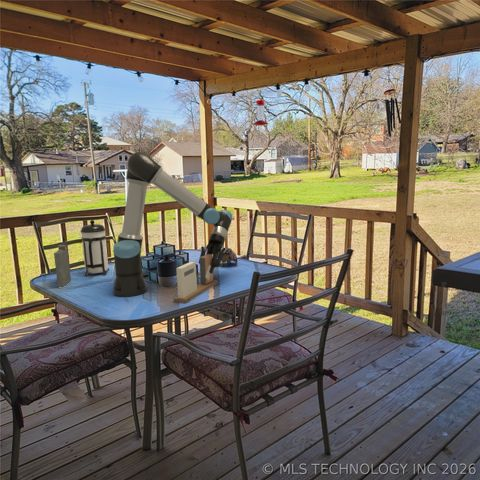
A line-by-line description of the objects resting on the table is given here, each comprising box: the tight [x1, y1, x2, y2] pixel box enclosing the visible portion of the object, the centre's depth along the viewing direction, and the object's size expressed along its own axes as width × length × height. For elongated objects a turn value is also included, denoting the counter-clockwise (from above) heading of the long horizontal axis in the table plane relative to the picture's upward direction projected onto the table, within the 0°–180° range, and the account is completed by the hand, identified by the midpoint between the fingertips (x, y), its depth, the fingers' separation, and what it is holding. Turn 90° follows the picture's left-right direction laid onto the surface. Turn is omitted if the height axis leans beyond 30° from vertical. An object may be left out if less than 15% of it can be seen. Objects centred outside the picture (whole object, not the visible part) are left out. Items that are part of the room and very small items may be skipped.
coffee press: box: [80, 219, 110, 277], centre depth 214 cm, size 17×16×30 cm
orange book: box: [199, 253, 214, 285], centre depth 186 cm, size 8×3×13 cm, turn 157°
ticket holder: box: [173, 261, 219, 304], centre depth 177 cm, size 30×6×15 cm, turn 157°
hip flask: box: [53, 244, 72, 288], centre depth 198 cm, size 16×4×20 cm, turn 11°
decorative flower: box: [217, 247, 238, 268], centre depth 226 cm, size 14×12×15 cm
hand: (203, 278), depth 184 cm, fingers closed on orange book, 3 cm apart
